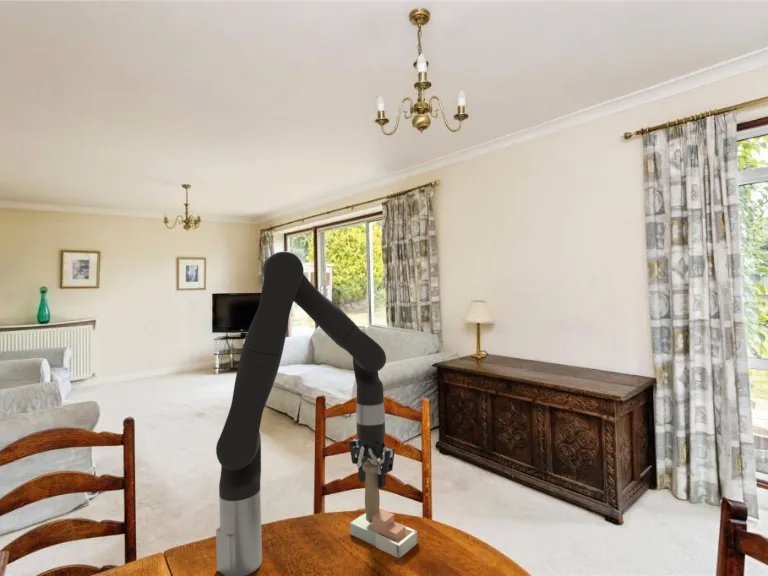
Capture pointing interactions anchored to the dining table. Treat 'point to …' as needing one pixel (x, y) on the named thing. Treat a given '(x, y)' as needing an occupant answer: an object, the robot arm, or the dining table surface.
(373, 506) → the handle
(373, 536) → the pale green flat block
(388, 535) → the salmon cube
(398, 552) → the tray
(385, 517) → the pink cube
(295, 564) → the dining table surface
